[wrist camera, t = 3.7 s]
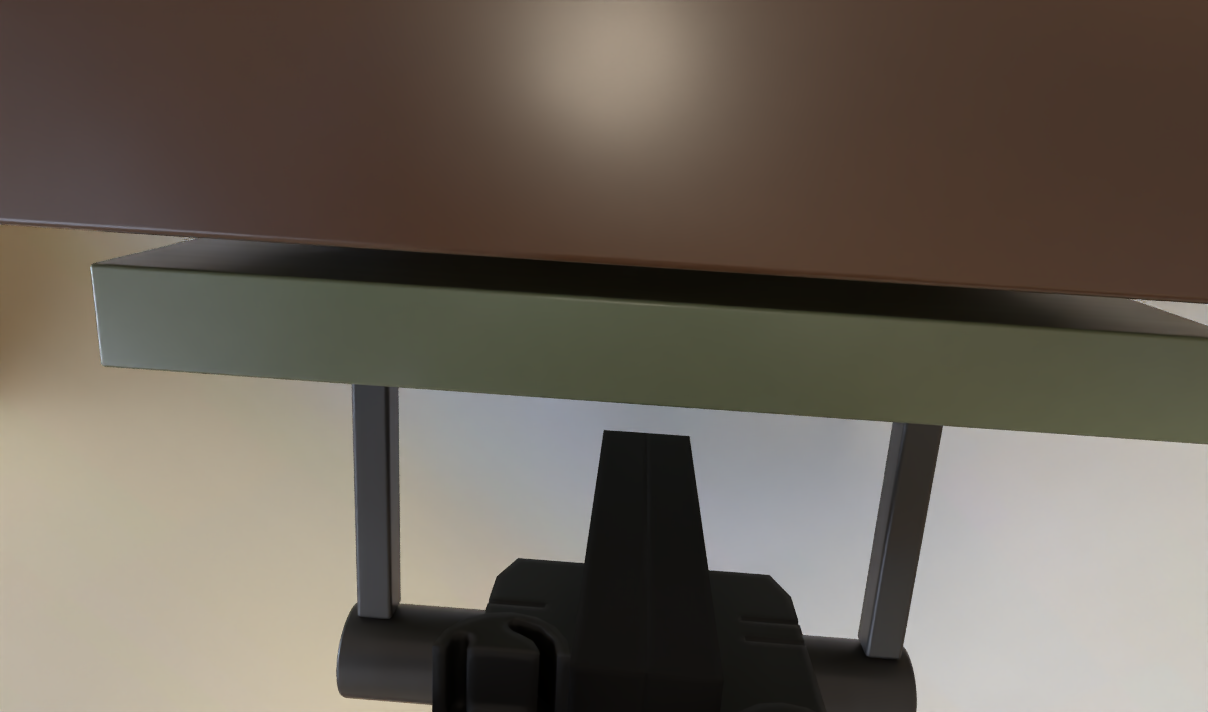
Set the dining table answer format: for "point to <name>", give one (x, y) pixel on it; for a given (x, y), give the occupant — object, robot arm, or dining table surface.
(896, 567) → the drawer
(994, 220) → the cabinet
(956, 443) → the dining table surface
